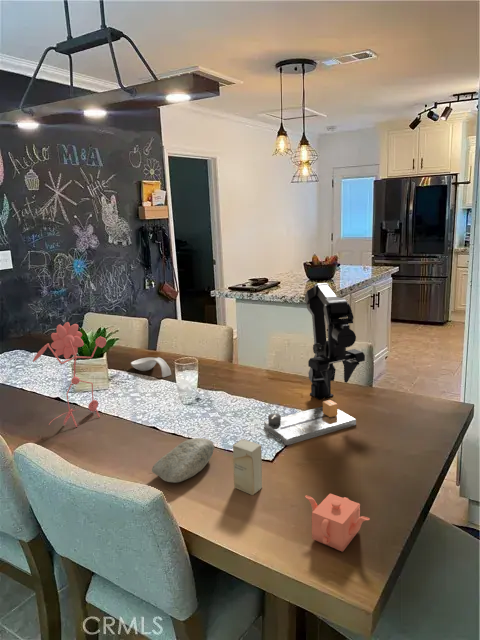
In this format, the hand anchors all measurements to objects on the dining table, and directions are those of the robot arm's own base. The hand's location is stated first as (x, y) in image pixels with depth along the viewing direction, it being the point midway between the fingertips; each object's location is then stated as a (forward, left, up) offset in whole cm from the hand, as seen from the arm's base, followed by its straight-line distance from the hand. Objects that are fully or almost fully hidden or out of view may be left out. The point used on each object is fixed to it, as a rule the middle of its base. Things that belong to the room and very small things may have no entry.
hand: (337, 384), depth 157 cm
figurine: (+77, -49, -12) cm, 92 cm away
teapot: (+36, +47, -12) cm, 60 cm away
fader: (+3, 0, -10) cm, 10 cm away
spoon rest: (+40, -84, -12) cm, 93 cm away
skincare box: (+44, +21, -12) cm, 50 cm away
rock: (+55, +5, -12) cm, 56 cm away
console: (+11, 0, -12) cm, 16 cm away
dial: (+21, -4, -10) cm, 24 cm away
